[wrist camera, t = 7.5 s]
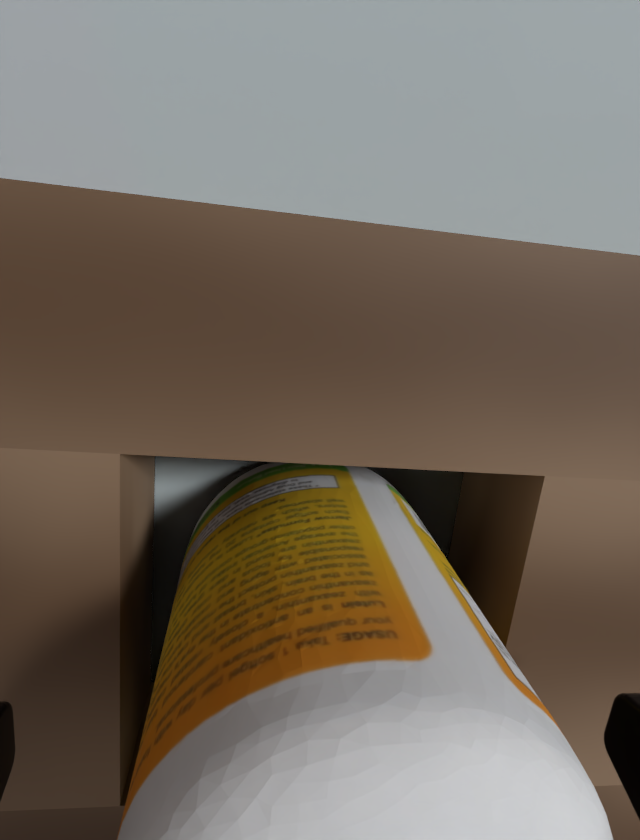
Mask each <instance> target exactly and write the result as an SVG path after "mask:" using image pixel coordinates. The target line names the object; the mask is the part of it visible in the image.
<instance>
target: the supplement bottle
mask: <svg viewBox="0 0 640 840" xmlns="http://www.w3.org/2000/svg"><path fill="white" fill-rule="evenodd" d="M117 840H613V836H612V833H611V829H610V826H609V822H608V819H607V815H606V812H605V810H604V808H603V805H602V803H601V801H600V799H599V796H598V794H597V792H596V790H595V788H594V785H593V784H592V782H591V780H590V779H589V777H588V775H587V773H586V772H585V770H584V768H583V766H582V765H581V763H580V761H579V759H578V758H577V756H576V754H575V753H574V751H573V750H572V748H571V746H570V745H569V743H568V741H567V740H566V738H565V736H564V735H563V733H562V732H561V730H560V728H559V727H558V725H557V723H556V722H555V720H554V719H553V717H552V716H551V714H550V713H549V711H548V710H547V709H546V707H545V706H544V705H543V703H542V702H541V700H540V699H539V697H538V696H537V694H536V693H535V691H534V690H533V688H532V687H531V685H530V684H529V682H528V681H527V679H526V678H525V676H524V675H523V673H522V672H521V670H520V669H519V667H518V666H517V665H516V663H515V662H514V660H513V658H512V657H511V655H510V654H509V652H508V651H507V649H506V648H505V646H504V645H503V643H502V642H501V640H500V639H499V637H498V636H497V634H496V633H495V631H494V630H493V628H492V627H491V625H490V624H489V622H488V621H487V619H486V618H485V616H484V615H483V613H482V612H481V610H480V609H479V607H478V606H477V604H476V603H475V602H474V600H473V599H472V597H471V595H470V594H469V592H468V591H467V589H466V588H465V586H464V585H463V583H462V582H461V580H460V579H459V577H458V576H457V574H456V573H455V571H454V570H453V568H452V567H451V565H450V564H449V562H448V560H447V559H446V557H445V556H444V554H443V553H442V552H441V550H440V548H439V547H438V545H437V544H436V542H435V541H434V539H433V538H432V536H431V535H430V533H429V532H428V530H427V529H426V527H425V526H424V525H423V523H422V521H421V520H420V518H419V517H418V515H417V514H416V513H415V511H414V510H413V509H412V507H411V506H410V505H409V503H408V502H407V501H406V500H405V499H404V497H403V496H402V495H401V494H400V493H399V492H398V490H397V489H396V488H395V487H393V486H392V485H391V484H390V483H389V482H388V481H387V480H385V479H384V478H383V477H381V476H380V475H378V474H377V473H375V472H373V471H371V470H369V469H368V468H366V467H360V466H341V465H322V464H302V463H283V462H270V463H267V464H264V465H261V466H259V467H257V468H254V469H252V470H250V471H248V472H247V473H245V474H243V475H241V476H240V477H238V478H237V479H235V480H234V481H233V482H231V483H230V484H229V485H228V486H227V487H225V488H224V489H223V490H222V491H221V492H220V493H219V494H218V495H217V496H216V497H215V498H214V499H213V501H212V502H211V503H210V504H209V505H208V507H207V508H206V510H205V511H204V512H203V514H202V515H201V517H200V519H199V520H198V522H197V524H196V526H195V528H194V530H193V533H192V536H191V538H190V541H189V544H188V547H187V550H186V553H185V556H184V560H183V564H182V567H181V572H180V577H179V581H178V585H177V590H176V595H175V598H174V602H173V606H172V611H171V616H170V620H169V624H168V628H167V633H166V637H165V641H164V645H163V649H162V653H161V657H160V662H159V666H158V670H157V674H156V679H155V683H154V688H153V692H152V696H151V701H150V705H149V709H148V713H147V717H146V721H145V725H144V729H143V733H142V738H141V742H140V746H139V751H138V755H137V759H136V763H135V767H134V771H133V775H132V779H131V783H130V787H129V791H128V795H127V799H126V803H125V808H124V812H123V816H122V820H121V824H120V828H119V832H118V836H117Z"/></svg>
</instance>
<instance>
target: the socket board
mask: <svg viewBox="0 0 640 840" xmlns="http://www.w3.org/2000/svg"><path fill="white" fill-rule="evenodd" d="M155 456H167V457H186V458H205V459H225V460H244V461H263V462H283V463H302V464H322V465H341V466H360V467H380V468H399V469H419V470H438V471H457V472H464V475H463V480H462V486H461V491H460V496H459V502H458V507H457V513H456V518H455V523H454V529H453V534H452V540H451V545H450V551H449V556H448V562H449V564H450V565H451V567H452V568H453V570H454V571H455V573H456V574H457V576H458V577H459V579H460V580H461V582H462V583H463V585H464V586H465V588H466V589H467V591H468V592H469V594H470V595H471V597H472V599H473V600H474V602H475V603H476V604H477V606H478V607H479V609H480V610H481V612H482V613H483V615H484V616H485V618H486V619H487V621H488V622H489V624H490V625H491V627H492V628H493V630H494V631H495V633H496V634H497V636H498V637H499V639H500V640H501V642H502V643H503V645H504V646H505V648H506V649H507V651H508V652H509V654H510V655H511V657H512V658H513V660H514V662H515V663H516V665H517V666H518V667H519V669H520V670H521V672H522V673H523V675H524V676H525V678H526V679H527V681H528V682H529V684H530V685H531V687H532V688H533V690H534V691H535V693H536V694H537V696H538V697H539V699H540V700H541V702H542V703H543V705H544V706H545V707H546V709H547V710H548V711H549V713H550V714H551V716H552V717H553V719H554V720H555V722H556V723H557V725H558V727H559V728H560V730H561V732H562V733H563V735H564V736H565V738H566V740H567V741H568V743H569V745H570V746H571V748H572V750H573V751H574V753H575V754H576V756H577V758H578V759H579V761H580V763H581V765H582V766H583V768H584V770H585V772H586V773H587V775H588V777H589V779H590V780H591V782H592V784H593V785H594V788H595V790H596V792H597V794H598V796H599V799H600V801H601V803H602V805H603V808H604V810H605V812H606V815H607V819H608V822H609V826H610V829H611V833H612V836H613V840H640V820H639V818H638V816H637V814H636V812H635V810H634V808H633V806H632V804H631V802H630V800H629V797H628V795H627V793H626V791H625V789H624V787H623V785H622V783H621V781H620V779H619V777H618V774H617V772H616V770H615V768H614V766H613V764H612V762H611V760H610V758H609V756H608V754H607V751H606V748H605V745H604V731H605V727H606V724H607V721H608V717H609V714H610V711H611V707H612V704H613V701H614V699H615V697H616V696H617V695H618V694H621V693H640V256H638V255H629V254H621V253H613V252H605V251H596V250H588V249H580V248H572V247H563V246H555V245H547V244H539V243H530V242H522V241H514V240H506V239H497V238H489V237H481V236H473V235H465V234H456V233H448V232H440V231H432V230H423V229H415V228H407V227H399V226H390V225H382V224H374V223H366V222H357V221H349V220H341V219H333V218H324V217H316V216H308V215H300V214H291V213H283V212H275V211H267V210H258V209H250V208H242V207H234V206H225V205H217V204H209V203H201V202H193V201H184V200H176V199H168V198H160V197H151V196H143V195H135V194H127V193H118V192H110V191H102V190H94V189H85V188H77V187H69V186H61V185H52V184H44V183H36V182H28V181H19V180H11V179H3V178H0V701H6V702H9V703H10V704H11V706H12V708H13V719H14V734H15V758H14V763H13V767H12V770H11V773H10V776H9V779H8V782H7V784H6V787H5V790H4V793H3V796H2V799H1V801H0V840H117V836H118V832H119V828H120V824H121V820H122V816H123V812H124V808H125V803H126V799H127V795H128V791H129V787H130V783H131V779H132V775H133V771H134V767H135V763H136V759H137V755H138V751H139V746H140V742H141V738H142V733H143V729H144V725H145V721H146V717H147V713H148V709H149V705H150V701H151V696H152V692H153V688H154V683H155V682H151V647H152V591H153V536H154V481H155Z"/></svg>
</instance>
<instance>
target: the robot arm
mask: <svg viewBox="0 0 640 840" xmlns="http://www.w3.org/2000/svg"><path fill="white" fill-rule="evenodd" d="M604 745H605V748H606V751H607V754H608V756H609V758H610V760H611V762H612V764H613V766H614V768H615V770H616V772H617V774H618V777H619V779H620V781H621V783H622V785H623V787H624V789H625V791H626V793H627V795H628V797H629V800H630V802H631V804H632V806H633V808H634V810H635V812H636V814H637V816H638V818H639V820H640V693H621V694H618V695H617V696H616V697H615V699H614V701H613V704H612V707H611V711H610V714H609V717H608V721H607V724H606V727H605V731H604ZM14 758H15V734H14V719H13V708H12V706H11V704H10V703H9V702H6V701H0V801H1V799H2V796H3V793H4V790H5V787H6V784H7V782H8V779H9V776H10V773H11V770H12V767H13V763H14Z"/></svg>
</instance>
